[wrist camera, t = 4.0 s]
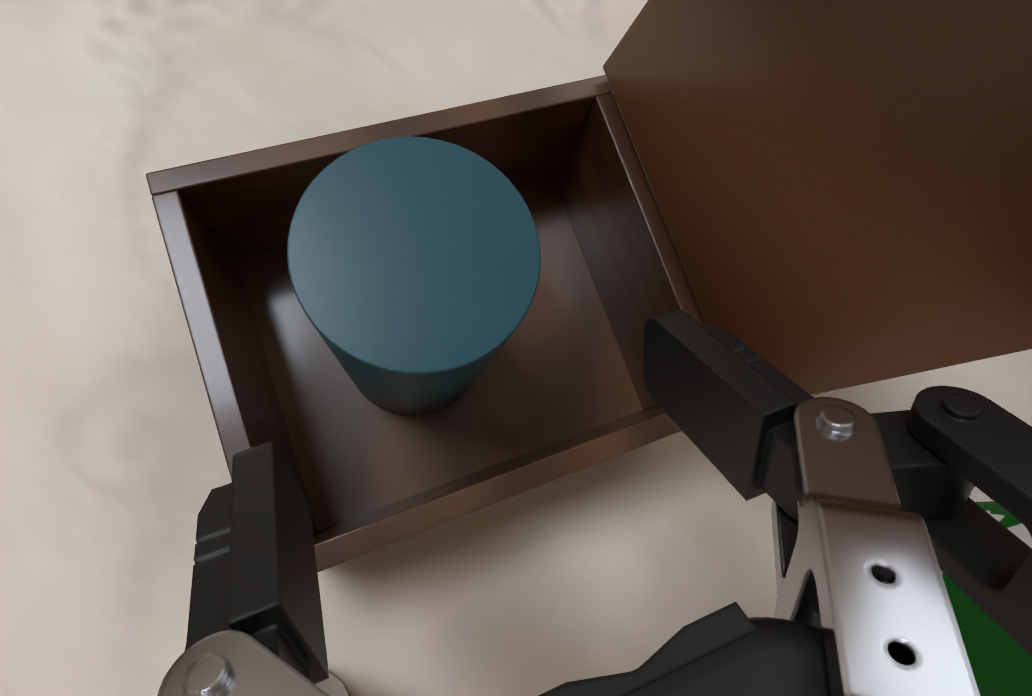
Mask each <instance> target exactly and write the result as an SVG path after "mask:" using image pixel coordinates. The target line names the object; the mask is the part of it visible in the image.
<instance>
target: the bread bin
mask: <svg viewBox="0 0 1032 696" xmlns="http://www.w3.org/2000/svg"><path fill="white" fill-rule="evenodd" d="M412 136H413V137H425V138H432V139H437V140H442V141H446V142H449V143H452V144H455V145H458V146H461V147H463V148H465V149H467V150H469V151H472V152H474V153H475V154H477V155H479V156H480V157H482V158H484V159H485V160H487V161H488V162H489V163H491V164H492V165H493V166H495V167H496V168H497V169H498V170H500V171H501V172H502V173H503V174H504V175H505V176H506V177H507V178H508V179H509V180H510V182H511V183H512V184H513V185H514V187H515V188H516V189H517V190H518V192H519V193H520V195H521V196H522V198H523V200H524V201H525V203H526V205H527V206H528V209H529V211H530V213H531V215H532V217H533V220H534V223H535V226H536V230H537V233H538V238H539V244H540V258H541V265H540V275H539V281H538V285H537V289H536V293H535V296H534V298H533V301H532V303H531V306H530V308H529V310H528V311H527V313H526V315H525V317H524V318H523V320H522V322H521V323H520V324H519V326H518V327H517V328H516V329H515V331H514V332H513V333H512V335H511V336H510V337H509V338H508V340H507V341H506V342H505V344H504V345H503V346H502V347H501V349H500V350H499V351H498V352H497V354H496V355H495V356H494V358H493V359H492V360H491V361H490V363H489V364H488V365H487V366H486V368H485V369H484V370H483V371H482V373H481V374H480V375H479V377H478V378H477V379H476V380H475V382H474V383H473V384H472V385H471V387H470V388H469V389H468V391H467V392H466V393H465V394H464V395H463V396H462V397H461V398H460V399H458V400H457V401H456V402H455V403H453V404H452V405H450V406H448V407H446V408H445V409H442V410H440V411H437V412H434V413H430V414H426V415H415V416H409V415H401V414H397V413H393V412H390V411H387V410H385V409H382V408H381V407H379V406H377V405H375V404H374V403H372V402H371V401H370V400H368V399H367V398H366V397H365V396H364V395H363V394H362V393H361V392H360V391H359V389H358V388H357V387H356V385H355V384H354V383H353V381H352V380H351V378H350V377H349V375H348V374H347V373H346V371H345V370H344V368H343V367H342V365H341V364H340V363H339V361H338V360H337V358H336V357H335V355H334V354H333V353H332V351H331V350H330V348H329V347H328V345H327V344H326V343H325V341H324V340H323V338H322V337H321V336H320V334H319V333H318V331H317V330H316V328H315V327H314V326H313V324H312V323H311V321H310V320H309V318H308V317H307V316H306V314H305V312H304V310H303V309H302V307H301V305H300V303H299V301H298V299H297V297H296V294H295V291H294V289H293V286H292V283H291V279H290V274H289V270H288V260H287V243H288V234H289V229H290V224H291V220H292V218H293V215H294V212H295V209H296V207H297V205H298V203H299V201H300V199H301V197H302V195H303V194H304V192H305V191H306V189H307V188H308V186H309V185H310V184H311V182H312V181H313V180H314V179H315V178H316V177H317V176H318V174H319V173H320V172H321V171H322V170H323V169H324V168H325V167H327V166H328V165H329V164H331V163H332V162H333V161H334V160H336V159H337V158H339V157H340V156H342V155H344V154H345V153H347V152H349V151H350V150H353V149H355V148H357V147H360V146H362V145H364V144H367V143H371V142H374V141H378V140H381V139H388V138H394V137H412ZM146 178H147V182H148V185H149V189H150V192H151V195H152V200H153V203H154V207H155V211H156V214H157V218H158V221H159V225H160V228H161V232H162V235H163V239H164V242H165V246H166V249H167V253H168V257H169V260H170V264H171V267H172V271H173V274H174V278H175V281H176V285H177V288H178V292H179V295H180V299H181V303H182V306H183V310H184V313H185V317H186V320H187V324H188V327H189V331H190V334H191V338H192V341H193V345H194V349H195V352H196V356H197V359H198V363H199V366H200V370H201V373H202V377H203V380H204V384H205V387H206V391H207V394H208V398H209V402H210V405H211V409H212V412H213V416H214V419H215V423H216V426H217V430H218V433H219V437H220V440H221V444H222V448H223V451H224V455H225V458H226V462H227V465H228V469H229V472H230V476H231V479H232V460H233V455H234V453H237V452H240V451H243V450H246V449H249V448H252V447H255V446H258V445H261V444H264V443H267V442H270V441H273V440H275V441H276V442H277V443H278V444H279V446H280V448H281V450H282V452H283V454H284V456H285V458H286V460H287V462H288V463H289V465H290V467H291V469H292V471H293V473H294V475H295V477H296V479H297V481H298V483H299V485H300V487H301V489H302V491H303V493H304V496H305V498H306V501H307V504H308V508H309V511H310V516H311V521H312V530H313V539H314V547H315V556H316V565H317V572H319V571H322V570H325V569H327V568H330V567H332V566H335V565H337V564H340V563H343V562H345V561H348V560H350V559H353V558H355V557H358V556H361V555H363V554H366V553H368V552H371V551H373V550H376V549H379V548H381V547H384V546H386V545H389V544H392V543H394V542H397V541H399V540H402V539H404V538H407V537H410V536H412V535H415V534H417V533H420V532H422V531H425V530H428V529H430V528H433V527H435V526H438V525H440V524H443V523H446V522H448V521H451V520H453V519H456V518H459V517H461V516H464V515H466V514H469V513H471V512H474V511H477V510H479V509H482V508H484V507H487V506H489V505H492V504H495V503H497V502H500V501H502V500H505V499H507V498H510V497H513V496H515V495H518V494H520V493H523V492H526V491H528V490H531V489H533V488H536V487H538V486H541V485H544V484H546V483H549V482H551V481H554V480H556V479H559V478H562V477H564V476H567V475H569V474H572V473H574V472H577V471H580V470H582V469H585V468H587V467H590V466H593V465H595V464H598V463H600V462H603V461H605V460H608V459H611V458H613V457H616V456H618V455H621V454H623V453H626V452H629V451H631V450H634V449H636V448H639V447H641V446H644V445H647V444H649V443H652V442H654V441H657V440H659V439H662V438H665V437H667V436H670V435H672V434H675V433H678V432H680V431H682V430H681V429H680V428H679V427H678V426H677V424H676V423H675V422H674V421H673V420H672V419H671V418H670V417H669V416H668V415H667V414H666V412H665V411H664V410H663V409H662V408H661V407H660V406H659V405H658V404H657V403H656V402H655V400H654V399H653V398H652V397H651V395H650V394H649V392H648V390H647V388H646V385H645V382H644V378H643V352H644V326H645V322H646V321H647V320H648V319H649V318H652V317H655V316H659V315H662V314H665V313H668V312H671V311H674V310H677V309H680V310H683V311H684V312H686V313H687V314H688V315H689V316H691V317H692V318H693V319H694V320H696V321H697V322H698V323H699V324H701V325H703V324H706V321H705V319H704V316H703V314H702V311H701V309H700V306H699V304H698V301H697V299H696V296H695V294H694V291H693V289H692V286H691V284H690V281H689V279H688V277H687V274H686V272H685V269H684V267H683V264H682V262H681V259H680V257H679V254H678V252H677V249H676V247H675V244H674V242H673V239H672V237H671V235H670V232H669V230H668V227H667V225H666V222H665V220H664V217H663V215H662V212H661V210H660V207H659V205H658V202H657V200H656V197H655V195H654V193H653V190H652V188H651V185H650V183H649V180H648V178H647V175H646V173H645V170H644V168H643V165H642V163H641V160H640V158H639V155H638V153H637V151H636V148H635V146H634V143H633V141H632V138H631V136H630V133H629V131H628V128H627V126H626V123H625V121H624V118H623V116H622V113H621V111H620V109H619V106H618V104H617V101H616V99H615V96H614V94H613V93H612V89H611V86H610V84H609V81H608V79H607V76H606V75H603V76H599V77H594V78H589V79H585V80H580V81H575V82H571V83H566V84H561V85H557V86H552V87H547V88H543V89H538V90H533V91H529V92H524V93H519V94H515V95H510V96H505V97H501V98H496V99H491V100H487V101H482V102H477V103H473V104H468V105H463V106H459V107H454V108H450V109H445V110H440V111H436V112H431V113H426V114H422V115H417V116H412V117H408V118H403V119H398V120H394V121H389V122H384V123H380V124H375V125H370V126H366V127H361V128H356V129H352V130H347V131H342V132H338V133H333V134H328V135H324V136H319V137H314V138H310V139H305V140H300V141H296V142H291V143H286V144H282V145H277V146H272V147H268V148H263V149H258V150H254V151H249V152H244V153H240V154H235V155H230V156H226V157H221V158H216V159H212V160H207V161H202V162H198V163H193V164H188V165H184V166H179V167H174V168H170V169H165V170H160V171H156V172H151V173H147V174H146Z"/></svg>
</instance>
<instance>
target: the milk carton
mask: <svg viewBox="0 0 1032 696" xmlns="http://www.w3.org/2000/svg"><path fill="white" fill-rule="evenodd" d="M975 503H976V504H978V505H979V506H980V507H981V508H983V509H984V510H985V511H986V512H987V513H989V514H990V515H991V516H992V517H994V518H995V519H996V520H997V521H999V522H1000V523H1001V524H1002V525H1004V526H1005V527H1006V528H1007V529H1008V530H1010V531H1011V532H1012V533H1013V534H1015V535H1016V536H1017V537H1018V538H1020V539H1021V540H1022V541H1023V542H1025V543H1026V544H1027V545H1028V546H1029V547H1031V548H1032V538H1031V535H1030V533H1029V531H1028V530H1027V529H1026V527H1025V526H1024V525H1023V524H1022V523H1021V522H1020V521H1019V520H1018V519H1017V518H1015V517H1014V516H1013V515H1011V514H1010V513H1009V512H1008V511H1006V510H1005V509H1004V508H1003V507H1001V506H1000V505H999V504H997V503H996V502H995V501H991V502H975ZM941 573H942V577H943V580H944V583H945V586H946V589H947V592H948V596H949V599H950V602H951V605H952V608H953V611H954V615H955V618H956V621H957V624H958V627H959V630H960V634H961V637H962V640H963V643H964V646H965V649H966V652H967V656H968V659H969V662H970V665H971V668H972V671H973V675H974V678H975V681H976V684H977V687H978V690H979V694H980V696H1032V657H1031V656H1030V655H1028V654H1027V653H1026V652H1025V651H1024V650H1023V649H1022V648H1021V647H1020V646H1019V645H1018V644H1017V643H1016V642H1015V641H1014V640H1013V639H1012V638H1011V637H1010V636H1009V635H1008V634H1007V633H1006V632H1004V631H1003V630H1002V629H1001V628H1000V627H999V626H998V625H997V624H996V623H995V622H994V621H993V620H992V619H991V618H990V617H989V616H988V615H987V614H986V613H985V612H984V611H983V610H981V609H980V608H979V607H978V606H977V605H976V604H975V603H974V602H973V601H972V600H971V599H970V598H969V597H968V596H967V595H966V594H965V593H964V592H963V591H962V590H961V589H960V588H959V587H957V586H956V585H955V584H954V583H953V582H952V581H951V580H950V579H949V578H948V577H947V576H946V575H945V574H944V573H943V572H942V571H941Z"/></svg>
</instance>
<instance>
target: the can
mask: <svg viewBox="0 0 1032 696" xmlns="http://www.w3.org/2000/svg"><path fill="white" fill-rule="evenodd" d="M287 260H288V270H289V274H290V279H291V283H292V286H293V289H294V291H295V294H296V297H297V299H298V301H299V303H300V305H301V307H302V309H303V310H304V312H305V314H306V316H307V317H308V318H309V320H310V321H311V323H312V324H313V326H314V327H315V328H316V330H317V331H318V333H319V334H320V336H321V337H322V338H323V340H324V341H325V343H326V344H327V345H328V347H329V348H330V350H331V351H332V353H333V354H334V355H335V357H336V358H337V360H338V361H339V363H340V364H341V365H342V367H343V368H344V370H345V371H346V373H347V374H348V375H349V377H350V378H351V380H352V381H353V383H354V384H355V385H356V387H357V388H358V389H359V391H360V392H361V393H362V394H363V395H364V396H365V397H366V398H367V399H368V400H370V401H371V402H372V403H374V404H375V405H377V406H379V407H381V408H382V409H385V410H387V411H390V412H393V413H397V414H401V415H409V416H415V415H426V414H430V413H434V412H437V411H440V410H442V409H445V408H446V407H448V406H450V405H452V404H453V403H455V402H456V401H457V400H458V399H460V398H461V397H462V396H463V395H464V394H465V393H466V392H467V391H468V389H469V388H470V387H471V385H472V384H473V383H474V382H475V380H476V379H477V378H478V377H479V375H480V374H481V373H482V371H483V370H484V369H485V368H486V366H487V365H488V364H489V363H490V361H491V360H492V359H493V358H494V356H495V355H496V354H497V352H498V351H499V350H500V349H501V347H502V346H503V345H504V344H505V342H506V341H507V340H508V338H509V337H510V336H511V335H512V333H513V332H514V331H515V329H516V328H517V327H518V326H519V324H520V323H521V322H522V320H523V318H524V317H525V315H526V313H527V311H528V310H529V308H530V306H531V303H532V301H533V298H534V296H535V293H536V289H537V285H538V281H539V275H540V265H541V258H540V244H539V238H538V233H537V230H536V226H535V223H534V220H533V217H532V215H531V213H530V211H529V209H528V206H527V205H526V203H525V201H524V200H523V198H522V196H521V195H520V193H519V192H518V190H517V189H516V188H515V187H514V185H513V184H512V183H511V182H510V180H509V179H508V178H507V177H506V176H505V175H504V174H503V173H502V172H501V171H500V170H498V169H497V168H496V167H495V166H493V165H492V164H491V163H489V162H488V161H487V160H485V159H484V158H482V157H480V156H479V155H477V154H475V153H474V152H472V151H469V150H467V149H465V148H463V147H461V146H458V145H455V144H452V143H449V142H446V141H442V140H437V139H432V138H425V137H413V136H412V137H394V138H388V139H381V140H378V141H374V142H371V143H367V144H364V145H362V146H360V147H357V148H355V149H353V150H350V151H349V152H347V153H345V154H344V155H342V156H340V157H339V158H337V159H336V160H334V161H333V162H332V163H331V164H329V165H328V166H327V167H325V168H324V169H323V170H322V171H321V172H320V173H319V174H318V176H317V177H316V178H315V179H314V180H313V181H312V182H311V184H310V185H309V186H308V188H307V189H306V191H305V192H304V194H303V195H302V197H301V199H300V201H299V203H298V205H297V207H296V209H295V212H294V215H293V218H292V220H291V224H290V229H289V234H288V243H287Z"/></svg>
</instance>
